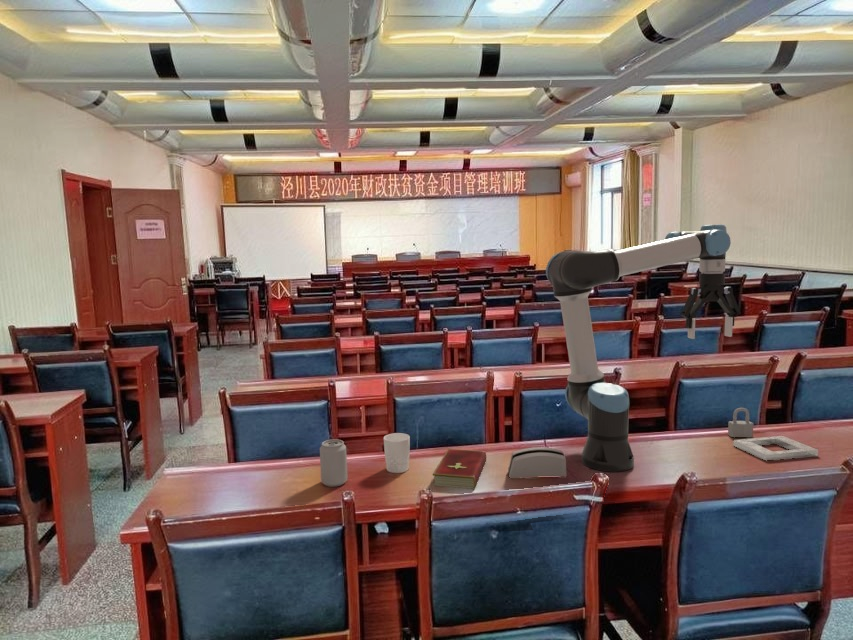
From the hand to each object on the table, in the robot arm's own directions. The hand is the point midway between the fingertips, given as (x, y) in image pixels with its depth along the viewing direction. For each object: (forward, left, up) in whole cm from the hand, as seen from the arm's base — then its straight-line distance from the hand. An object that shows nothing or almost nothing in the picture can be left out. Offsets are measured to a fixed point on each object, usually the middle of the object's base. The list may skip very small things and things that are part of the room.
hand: (709, 337), depth 189 cm
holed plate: (+13, -15, -35) cm, 40 cm away
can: (-124, -8, -35) cm, 129 cm away
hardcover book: (-87, -10, -35) cm, 95 cm away
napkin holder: (-66, -17, -35) cm, 77 cm away
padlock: (+13, 0, -35) cm, 37 cm away
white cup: (-105, -2, -35) cm, 111 cm away
